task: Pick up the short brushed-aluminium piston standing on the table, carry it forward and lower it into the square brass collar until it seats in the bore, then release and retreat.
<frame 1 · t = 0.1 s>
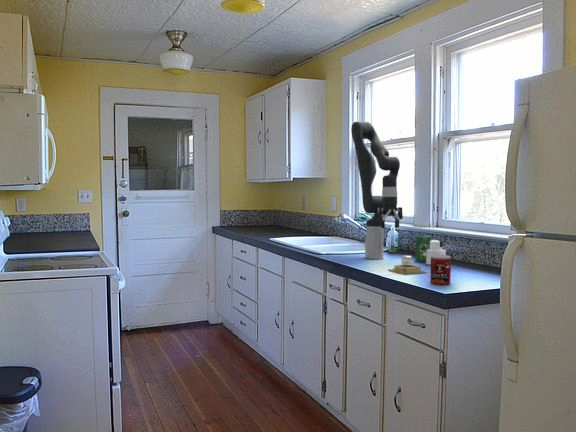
hand: (389, 228, 268), 17 cm above the countertop, tool pointing down, fingers open, 8 cm apart
canned food: (440, 284, 210), on the countertop
coffee box: (422, 262, 269), on the countertop
collar: (407, 271, 237), on the countertop
piston: (406, 267, 251), on the countertop
medicine bottle: (435, 264, 260), on the countertop
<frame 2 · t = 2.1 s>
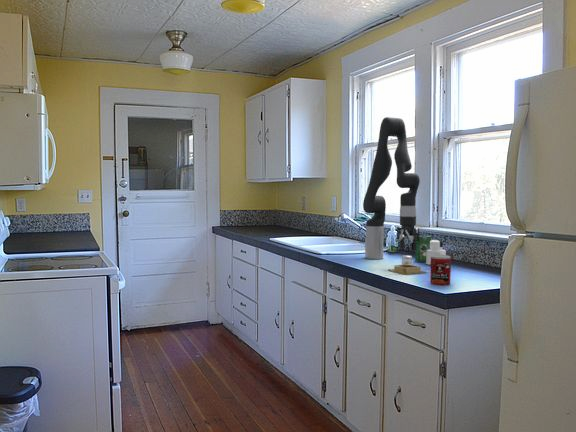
hand: (407, 249, 250), 9 cm above the countertop, tool pointing down, fingers open, 8 cm apart
nothing on the countertop moved.
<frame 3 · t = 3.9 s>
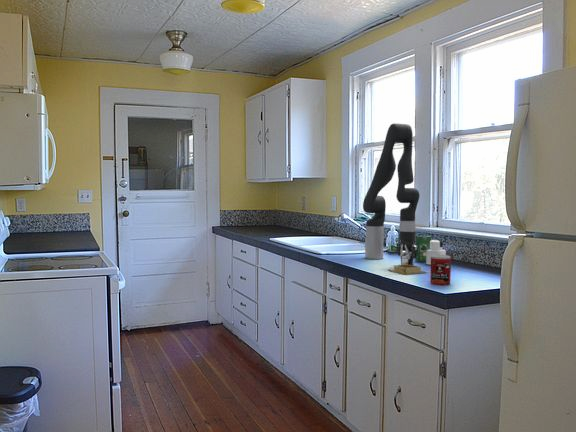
hand: (406, 265, 251), 1 cm above the countertop, tool pointing down, fingers closed on piston, 4 cm apart
piston: (406, 267, 251), on the countertop, touching gripper
everything else where it was.
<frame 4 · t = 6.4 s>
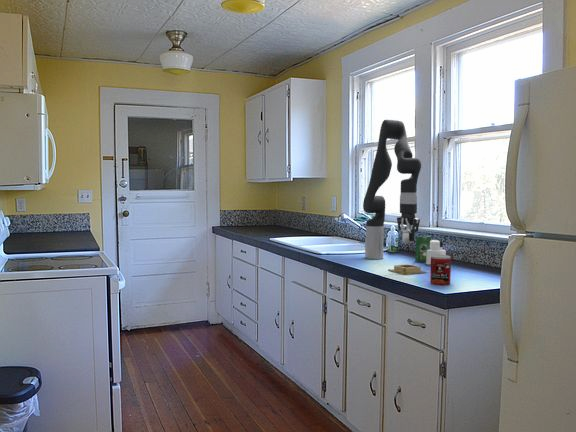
hand: (407, 240, 237), 14 cm above the countertop, tool pointing down, fingers closed on piston, 5 cm apart
piston: (407, 242, 237), point 13 cm above the countertop, touching gripper
everything else where it was.
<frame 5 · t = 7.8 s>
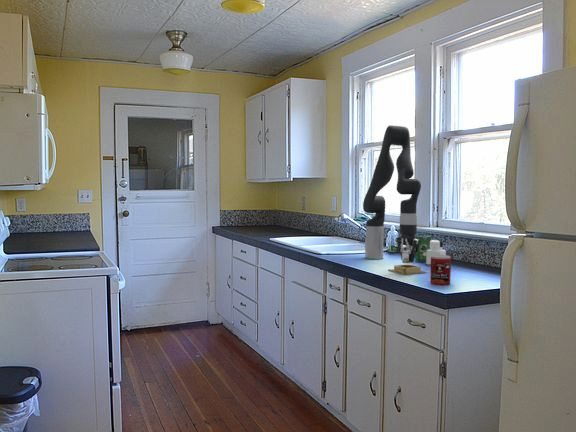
hand: (407, 260, 237), 5 cm above the countertop, tool pointing down, fingers closed on piston, 5 cm apart
piston: (407, 262, 237), point 4 cm above the countertop, touching gripper
everything else where it was.
when the fingers open (3 cm above the countertop, at t = 9.2 s): piston drops 1 cm, resting on collar.
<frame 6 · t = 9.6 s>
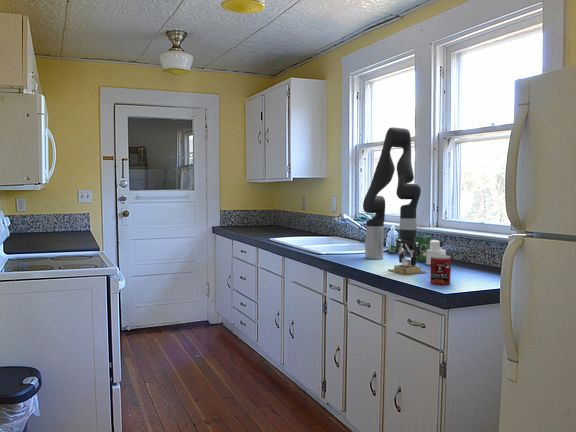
hand: (407, 264, 237), 4 cm above the countertop, tool pointing down, fingers open, 8 cm apart
piston: (407, 270, 238), point 1 cm above the countertop, touching collar
everything else where it was.
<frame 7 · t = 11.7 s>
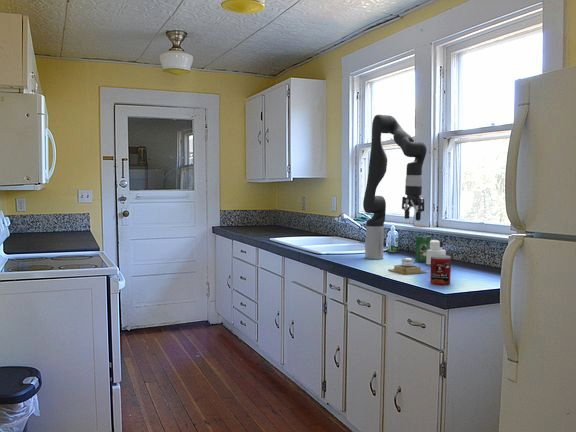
hand: (412, 219, 248), 23 cm above the countertop, tool pointing down, fingers open, 8 cm apart
nothing on the countertop moved.
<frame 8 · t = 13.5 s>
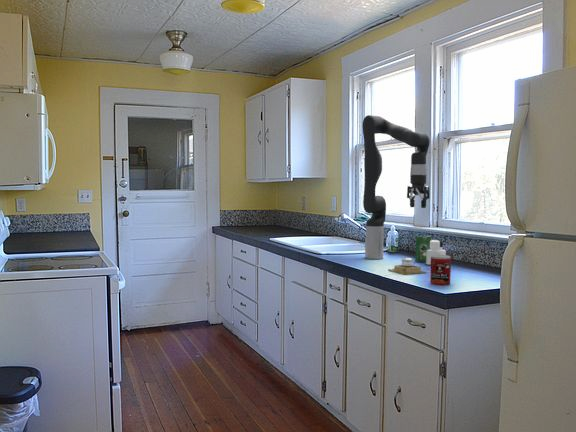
hand: (417, 207, 256), 28 cm above the countertop, tool pointing down, fingers open, 8 cm apart
nothing on the countertop moved.
at the end: piston 0.2 cm from the target spot, point 0.6 cm above the countertop; piston tilted 0°; the gripper is holding nothing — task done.
